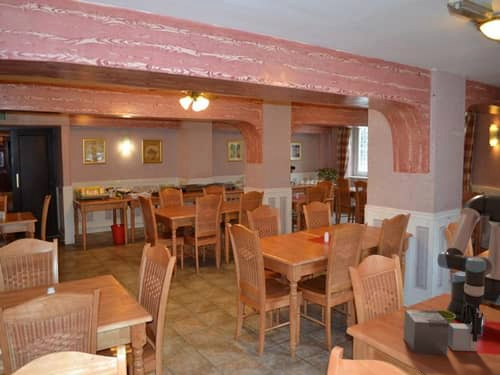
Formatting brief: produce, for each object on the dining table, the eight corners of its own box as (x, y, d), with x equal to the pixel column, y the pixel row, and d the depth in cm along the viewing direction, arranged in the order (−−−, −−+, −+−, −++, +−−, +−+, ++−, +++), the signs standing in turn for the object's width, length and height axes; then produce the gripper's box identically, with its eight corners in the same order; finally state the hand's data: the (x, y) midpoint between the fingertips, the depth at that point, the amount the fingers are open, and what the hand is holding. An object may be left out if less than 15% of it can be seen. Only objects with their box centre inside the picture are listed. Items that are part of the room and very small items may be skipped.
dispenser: (434, 340, 186) (436, 310, 184) (446, 354, 173) (448, 323, 171) (403, 338, 186) (405, 309, 185) (413, 353, 174) (415, 322, 172)
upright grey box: (470, 345, 181) (471, 324, 180) (475, 351, 176) (477, 329, 175) (447, 344, 182) (448, 323, 181) (452, 350, 177) (453, 328, 176)
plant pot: (452, 328, 198) (454, 311, 197) (455, 337, 189) (457, 319, 188) (432, 325, 201) (433, 309, 200) (434, 334, 192) (435, 316, 191)
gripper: (455, 286, 185) (452, 334, 188) (475, 301, 167) (471, 354, 170) (472, 286, 185) (468, 335, 187) (493, 301, 167) (489, 355, 169)
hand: (469, 344), depth 178 cm, fingers closed on upright grey box, 5 cm apart
